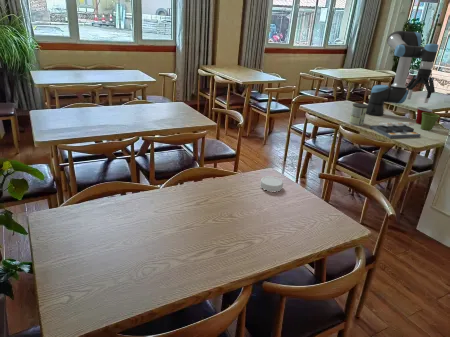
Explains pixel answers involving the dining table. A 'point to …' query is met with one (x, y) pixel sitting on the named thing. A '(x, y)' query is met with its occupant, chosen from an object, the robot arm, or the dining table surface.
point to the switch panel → (374, 127)
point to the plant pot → (428, 120)
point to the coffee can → (358, 114)
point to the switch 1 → (386, 124)
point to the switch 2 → (408, 123)
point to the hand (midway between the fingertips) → (416, 101)
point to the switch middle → (397, 124)
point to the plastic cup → (419, 114)
